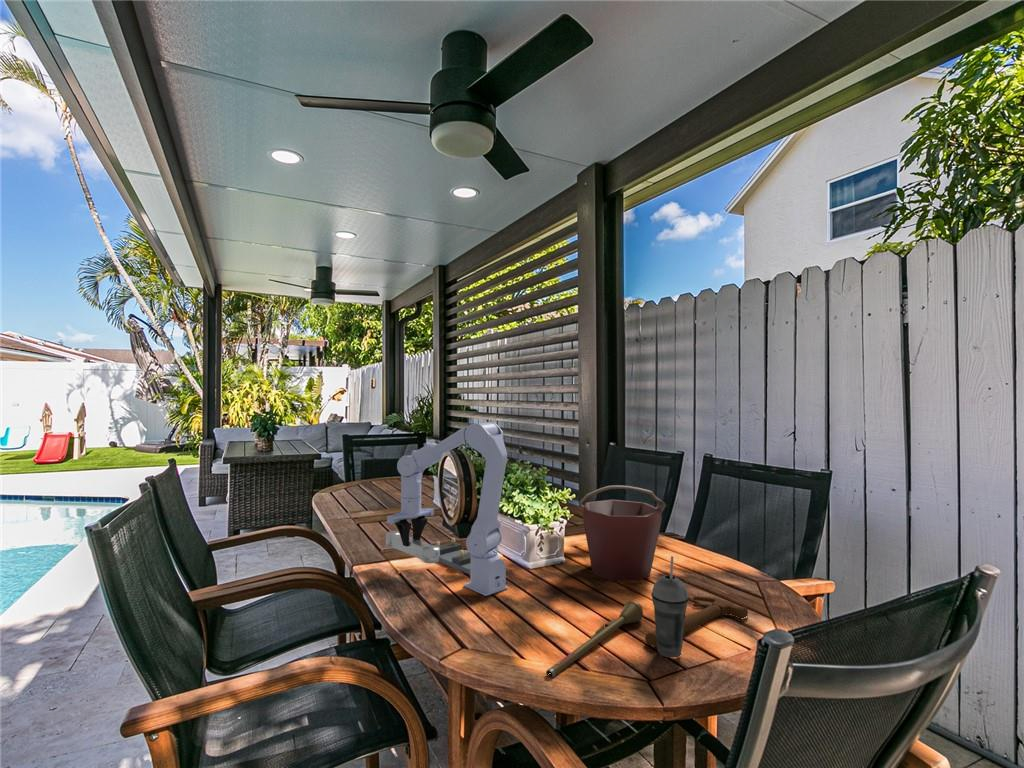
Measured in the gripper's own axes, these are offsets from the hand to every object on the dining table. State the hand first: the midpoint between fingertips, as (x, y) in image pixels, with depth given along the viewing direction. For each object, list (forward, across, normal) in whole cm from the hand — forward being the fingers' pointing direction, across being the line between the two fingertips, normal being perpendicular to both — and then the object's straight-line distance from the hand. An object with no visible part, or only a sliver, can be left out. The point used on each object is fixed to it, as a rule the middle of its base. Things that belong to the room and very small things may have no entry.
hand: (411, 544), depth 153 cm
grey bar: (+2, 0, 0) cm, 2 cm away
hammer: (+9, -28, +71) cm, 77 cm away
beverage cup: (+9, -13, +75) cm, 76 cm away
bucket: (+9, -45, +40) cm, 61 cm away
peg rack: (+8, -17, 0) cm, 19 cm away
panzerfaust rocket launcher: (+9, -6, +62) cm, 63 cm away
